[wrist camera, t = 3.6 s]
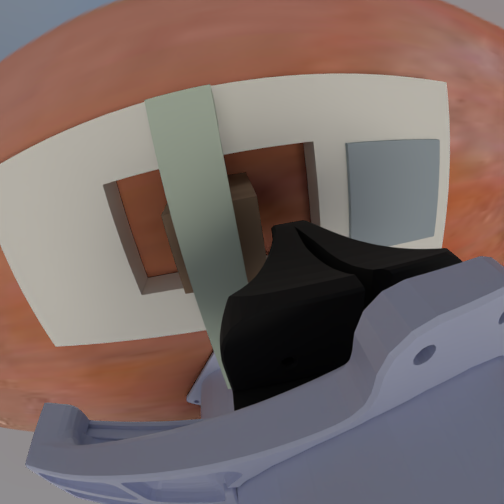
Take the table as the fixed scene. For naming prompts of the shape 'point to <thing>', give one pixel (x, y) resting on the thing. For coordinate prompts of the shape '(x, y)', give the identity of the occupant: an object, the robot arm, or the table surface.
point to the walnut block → (246, 226)
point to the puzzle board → (233, 140)
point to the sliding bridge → (199, 199)
